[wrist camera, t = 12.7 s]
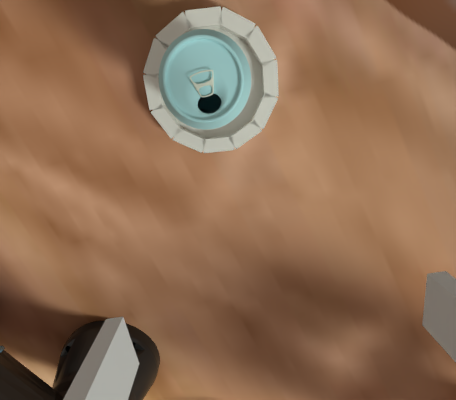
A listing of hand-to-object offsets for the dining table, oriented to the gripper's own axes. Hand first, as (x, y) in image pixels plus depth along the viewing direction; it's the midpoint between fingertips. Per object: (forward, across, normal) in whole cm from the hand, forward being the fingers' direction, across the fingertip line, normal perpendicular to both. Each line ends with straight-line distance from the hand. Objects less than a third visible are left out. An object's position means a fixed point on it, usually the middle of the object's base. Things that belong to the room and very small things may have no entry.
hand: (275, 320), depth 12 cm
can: (+24, -2, +11) cm, 26 cm away
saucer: (+24, -2, +11) cm, 27 cm away
